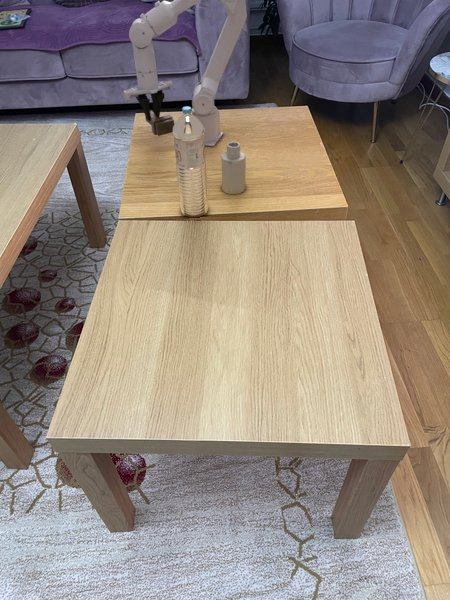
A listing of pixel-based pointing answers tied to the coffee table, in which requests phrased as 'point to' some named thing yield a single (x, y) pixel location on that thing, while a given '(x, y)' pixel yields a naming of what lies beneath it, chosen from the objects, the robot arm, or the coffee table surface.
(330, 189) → the coffee table surface
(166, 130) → the brush
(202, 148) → the water bottle
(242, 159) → the silver bottle
